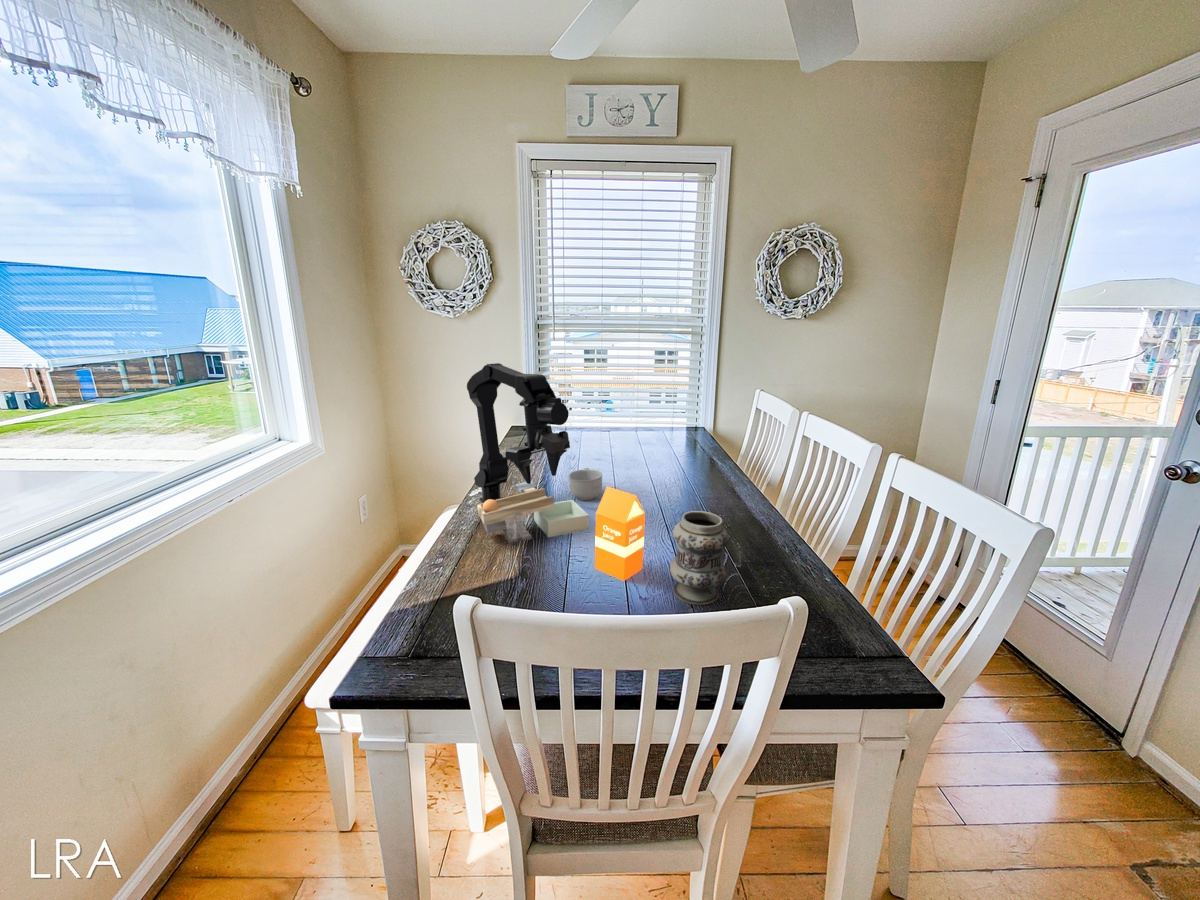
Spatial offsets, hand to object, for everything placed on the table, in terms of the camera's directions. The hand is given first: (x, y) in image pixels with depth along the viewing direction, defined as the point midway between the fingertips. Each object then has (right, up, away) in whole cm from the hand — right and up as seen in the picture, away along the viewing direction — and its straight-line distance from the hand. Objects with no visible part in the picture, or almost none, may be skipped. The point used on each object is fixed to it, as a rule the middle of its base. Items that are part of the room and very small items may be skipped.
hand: (541, 479), depth 135 cm
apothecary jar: (+37, -24, -25) cm, 51 cm away
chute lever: (-9, -10, +5) cm, 14 cm away
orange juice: (+20, -21, -15) cm, 33 cm away
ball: (-13, -7, -4) cm, 15 cm away
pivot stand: (-8, -15, +1) cm, 17 cm away
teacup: (+11, -7, +29) cm, 32 cm away
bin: (+5, -13, +7) cm, 16 cm away
